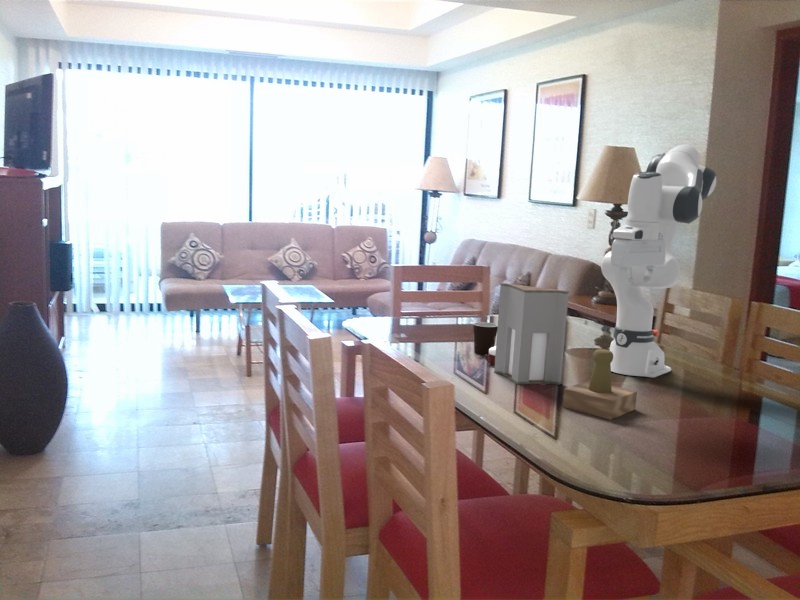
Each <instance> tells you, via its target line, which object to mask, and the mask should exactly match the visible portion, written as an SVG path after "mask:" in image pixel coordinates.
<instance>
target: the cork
mask: <svg viewBox="0 0 800 600" xmlns="http://www.w3.org/2000/svg"><path fill="white" fill-rule="evenodd" d="M609 350H610V349H609ZM609 350H608V349H605V348H604V349H603V348H600V349H596V350H594V351H593V354H592V358H593V361H594V362H593V363H594V364H593V367H592V372H591V376H590V384H589V390H590V391H593V392H597V393H611V392H612V389H611V385H612V371H611V362H612V360H613V353H612V352H611V351H609Z"/></svg>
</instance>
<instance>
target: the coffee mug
mask: <svg viewBox="0 0 800 600" xmlns="http://www.w3.org/2000/svg"><path fill="white" fill-rule="evenodd" d="M472 328H473V345H474V346H473V351H474V353H475V354H477V355H480V356H487V355H488V353H489V349H490V348H491V347H494V346H496V341H497V328H498V323H493V322H486V321H477V322H476V321H475V322H473V324H472Z"/></svg>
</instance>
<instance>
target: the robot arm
mask: <svg viewBox="0 0 800 600" xmlns="http://www.w3.org/2000/svg"><path fill="white" fill-rule="evenodd" d="M700 162H701V159H700V152H699V151H698V150H697V148H696V147H694V146H692V145H690V144H687V143H685V144H684V143H683V144H678V145H676V146H674V147H672V148H671V149H669V151H667V152H666V153H665V152H664V153H662V154H661V153H659V154H655V155H654V156H652V157H651V158H650V160H649V161H648V162H647V164H646V166H645V169H644V171H640V172H636V173H634V174H633V176H632V179H631V181H630V187H629V190H628V198H627V209H628V210H627V211H628V212H627V216H626V218H625V223H624V224H623V225H621V226H620V227H618V228H616V229H614V230H613V231H612V238H614V240H613V241H612V245H611V250H609V251H608V252H607V253H606V254H605V255H604V256H603V258H602V260H601V264H600V269H601V273H602V276H603V277H604V278H605V279H606V280H607V282H608V283H609V284H610V285H611V287H612V289H613V291H614V295H615V297H616V306H617V307H616V309H617V310H616V323H615V326H614V329H613V338H614V339H613V340H611V342H610V346H609V351H611V352H612V353H613V360H612V362H611V373H612V372H613V373H616V374H620V375H626V376H634V377H635V376H636V377H647V378H656V377H659V376H662V375H664V374H667V373H669V372H671V371H672V367H670V366H669V365H665V358H666V357H665V352H664V350H663V349H661V348H660V347H659V345H658V344H657V343H656V342H655V337H658V336H659V335H660V331H659V330H658V329H656V330H655V329H652V328H653V320H654V319H653V318H654V312H655V311H654V306H653V303H652V302H651V301H650V300H649V299H647V298H646V297H645V296H644V295H643V293H642V290H641V287H642V288H643V287H644V288H650V289H657V290H658V289H669V288H673V287H674V286H675V285H676V284H677V282H678V281H679V279H680V277H681V265H680V263H679V261H678V260H677V259H676V257H675V256H674V254H673V252H672V249H673V243H674V239H675V237H676V235H677V232H678V230H679V229H680V226H681V224H682V223H683V224H686V225H687V224H688V225H689V224H691V223H693V222H694V221H696V220H697V219H698V218H699V217H700V214H701V212H702V210H703V201H704V200H706V199H707V198H709V196H711V194H712V193H714V190H715V188H716V185H717V173H716V171H715V170H714V169H712V168H710V167H708V166H704V165H701V164H700Z"/></svg>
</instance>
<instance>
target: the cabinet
mask: <svg viewBox="0 0 800 600" xmlns="http://www.w3.org/2000/svg"><path fill="white" fill-rule="evenodd" d="M499 289H500V290H499V300H498V301H499V302H498V303H499V304H498V316H497V325H498V328H497V335H496V340H495V346H496V355H495V365H494V370H493V373H494V374H500V375H502V376H504V377H506V378H507V379H509V380H510V381H512V382H513V383H515V384H516V385H534V384H535V385H537V384H553V385H558V386H559V385H561V384H562V375H563V374H562V372H563V363H564V362H563V361H564V351H565V349H564V348H565V339H566V338H565V337H566V327H567V316H568V307H569V306H568V305H569V293H570V291H569V290H563V289H554V288H546V287H539V286H530V285H521V284H514V283H506V282H505V283H504V282H503V283H500V288H499Z"/></svg>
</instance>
